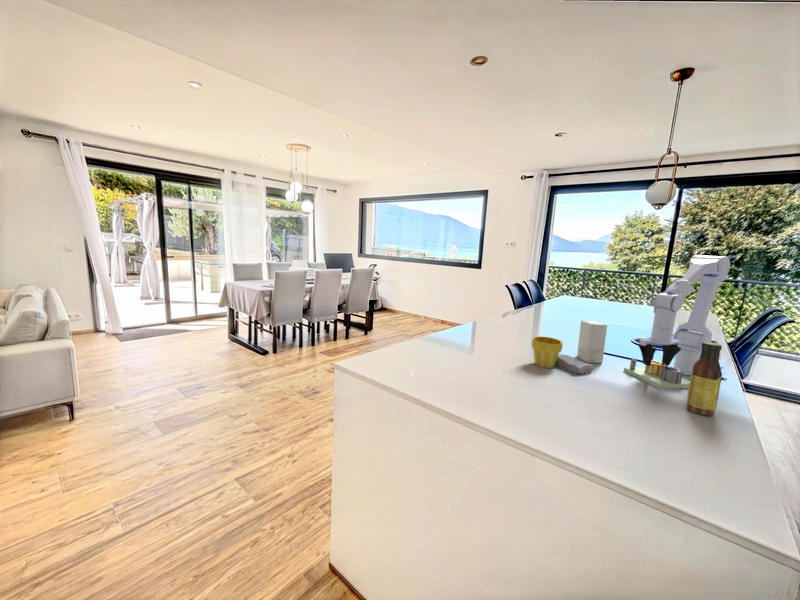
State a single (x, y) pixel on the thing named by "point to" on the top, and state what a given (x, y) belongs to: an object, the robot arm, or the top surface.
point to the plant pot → (546, 351)
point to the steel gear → (671, 375)
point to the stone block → (573, 364)
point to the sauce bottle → (705, 381)
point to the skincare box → (592, 341)
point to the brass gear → (654, 368)
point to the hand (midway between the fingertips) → (656, 364)
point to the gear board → (654, 377)
